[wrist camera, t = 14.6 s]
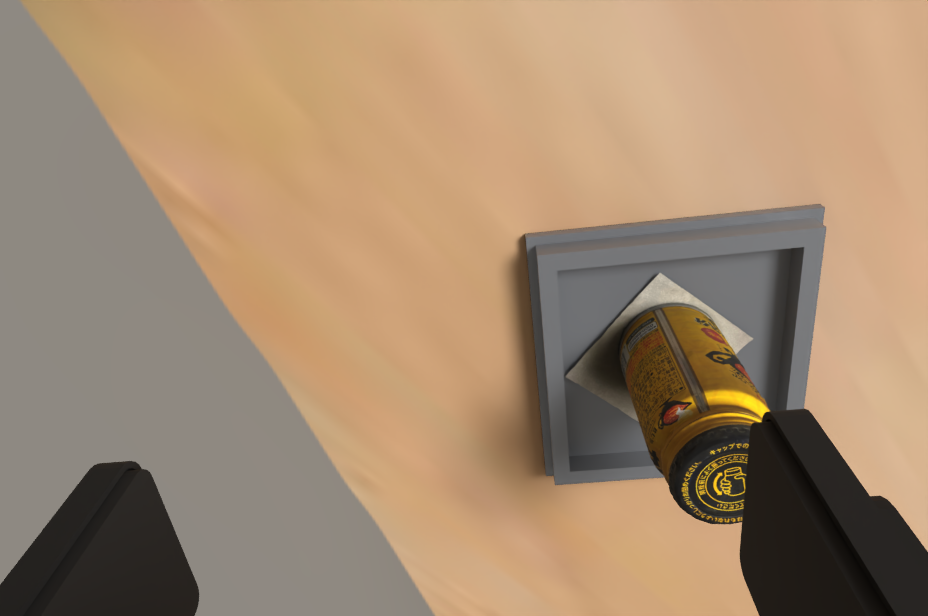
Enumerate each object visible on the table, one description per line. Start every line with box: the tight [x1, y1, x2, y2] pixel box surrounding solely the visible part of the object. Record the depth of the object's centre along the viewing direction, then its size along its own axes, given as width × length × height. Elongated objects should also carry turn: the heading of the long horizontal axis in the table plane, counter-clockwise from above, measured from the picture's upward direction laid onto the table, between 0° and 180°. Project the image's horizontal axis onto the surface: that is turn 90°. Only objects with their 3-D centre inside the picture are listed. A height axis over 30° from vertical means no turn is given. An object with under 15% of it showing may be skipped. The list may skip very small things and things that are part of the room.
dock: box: [525, 204, 826, 485], centre depth 41 cm, size 17×16×2 cm
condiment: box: [565, 273, 770, 524], centre depth 36 cm, size 7×8×12 cm
